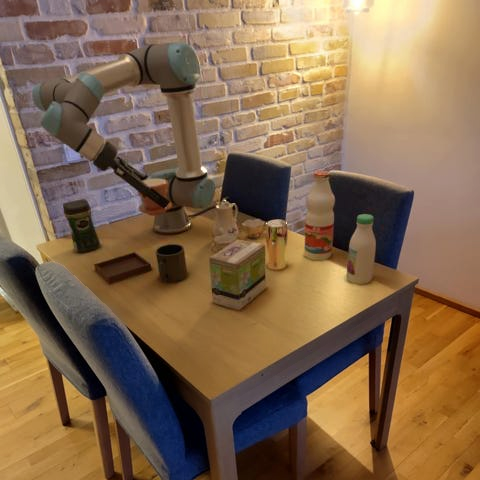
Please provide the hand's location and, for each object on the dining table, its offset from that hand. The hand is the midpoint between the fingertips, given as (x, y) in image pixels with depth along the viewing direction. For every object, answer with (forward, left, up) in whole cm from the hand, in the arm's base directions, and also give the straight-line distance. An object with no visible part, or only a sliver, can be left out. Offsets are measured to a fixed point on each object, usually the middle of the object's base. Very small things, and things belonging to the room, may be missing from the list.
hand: (164, 200), depth 132 cm
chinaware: (-29, -9, -25) cm, 40 cm away
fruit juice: (-44, +21, -25) cm, 55 cm away
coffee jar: (+16, -43, -25) cm, 52 cm away
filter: (+3, -1, -3) cm, 5 cm away
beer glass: (-28, +18, -25) cm, 42 cm away
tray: (+13, -15, -25) cm, 31 cm away
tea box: (-7, +26, -25) cm, 37 cm away
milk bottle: (-41, +42, -25) cm, 64 cm away
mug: (+3, +2, -25) cm, 25 cm away
